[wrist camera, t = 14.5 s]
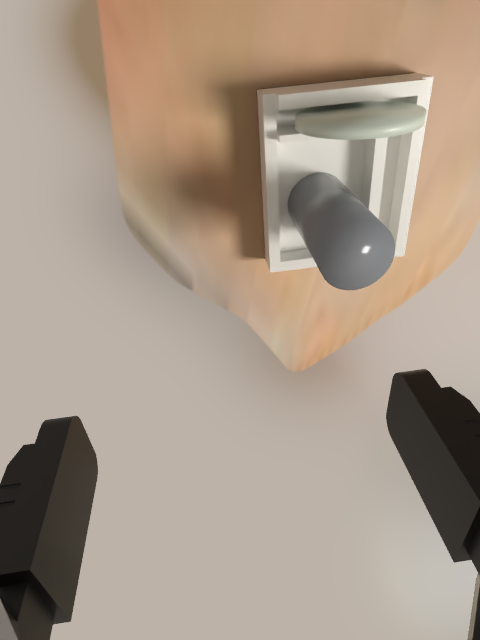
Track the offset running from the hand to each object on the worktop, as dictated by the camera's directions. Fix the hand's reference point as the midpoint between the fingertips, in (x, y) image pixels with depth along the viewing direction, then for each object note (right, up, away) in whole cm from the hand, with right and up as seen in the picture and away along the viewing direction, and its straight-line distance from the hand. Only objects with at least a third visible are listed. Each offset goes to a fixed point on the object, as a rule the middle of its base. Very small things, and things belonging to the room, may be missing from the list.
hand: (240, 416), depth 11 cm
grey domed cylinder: (+7, +13, +28) cm, 31 cm away
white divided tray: (+8, +16, +27) cm, 32 cm away
